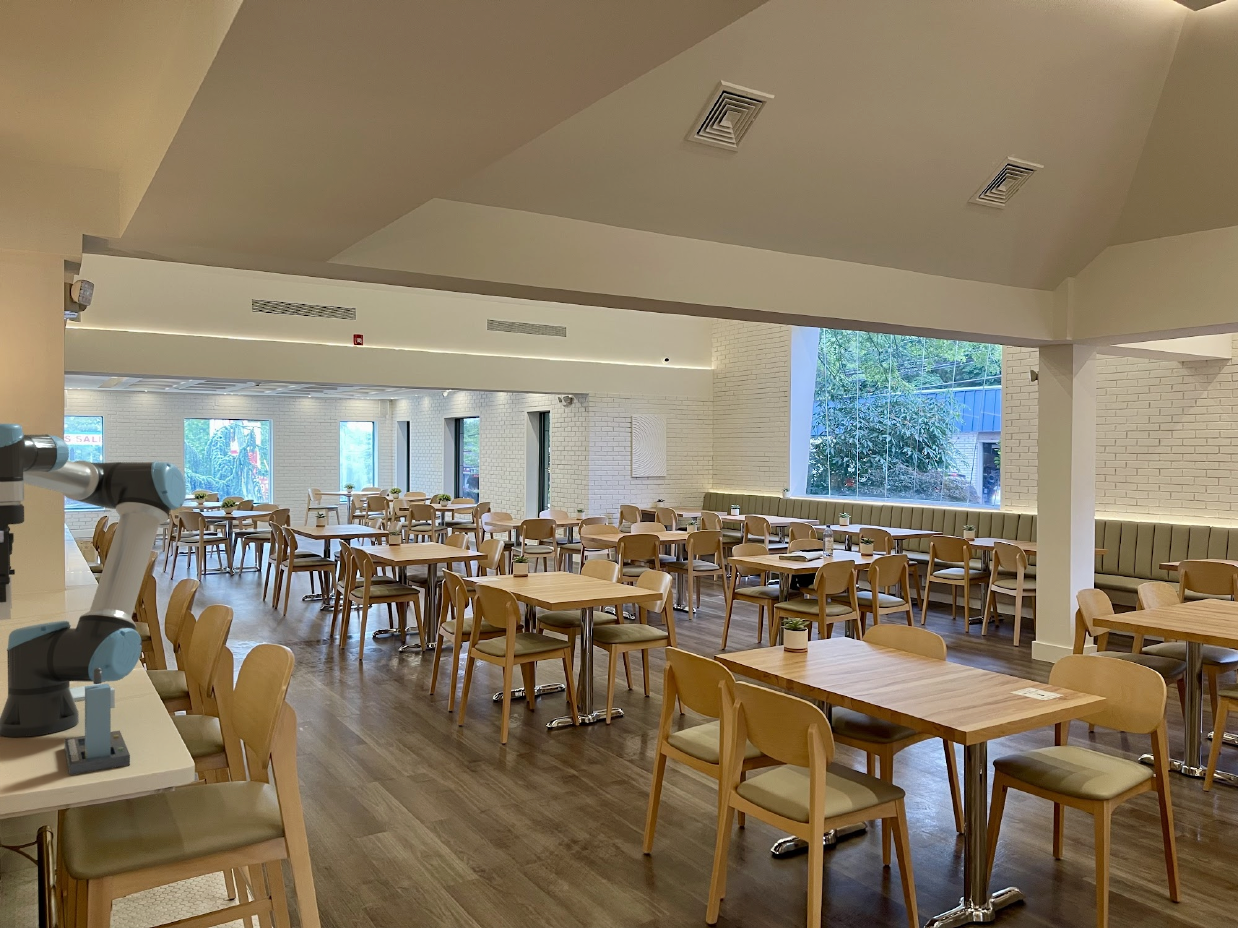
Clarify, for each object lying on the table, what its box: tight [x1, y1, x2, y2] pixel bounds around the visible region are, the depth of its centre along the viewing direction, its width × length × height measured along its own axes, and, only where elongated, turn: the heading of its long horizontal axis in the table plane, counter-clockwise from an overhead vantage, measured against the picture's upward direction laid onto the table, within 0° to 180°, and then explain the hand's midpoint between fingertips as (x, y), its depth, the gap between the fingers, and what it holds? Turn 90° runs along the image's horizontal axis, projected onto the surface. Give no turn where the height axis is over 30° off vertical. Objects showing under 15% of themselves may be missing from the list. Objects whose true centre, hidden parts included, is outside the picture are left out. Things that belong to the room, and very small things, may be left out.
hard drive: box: [70, 684, 100, 703], centre depth 229 cm, size 2×8×12 cm
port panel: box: [64, 730, 131, 776], centre depth 179 cm, size 20×10×2 cm, turn 34°
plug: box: [84, 667, 116, 759], centre depth 175 cm, size 4×5×19 cm
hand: (2, 614), depth 171 cm, fingers open, 13 cm apart
